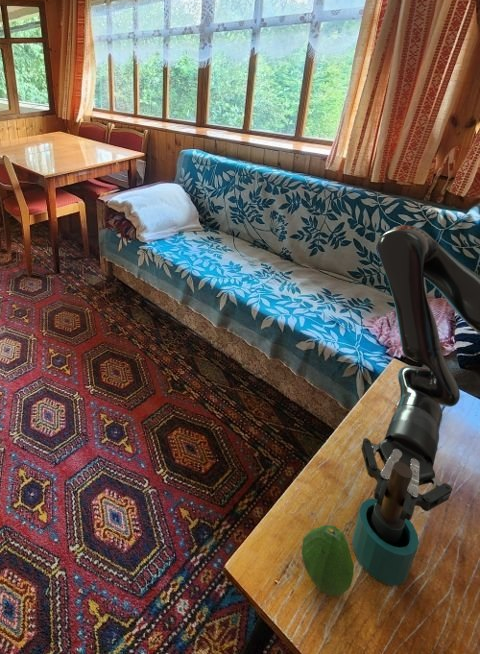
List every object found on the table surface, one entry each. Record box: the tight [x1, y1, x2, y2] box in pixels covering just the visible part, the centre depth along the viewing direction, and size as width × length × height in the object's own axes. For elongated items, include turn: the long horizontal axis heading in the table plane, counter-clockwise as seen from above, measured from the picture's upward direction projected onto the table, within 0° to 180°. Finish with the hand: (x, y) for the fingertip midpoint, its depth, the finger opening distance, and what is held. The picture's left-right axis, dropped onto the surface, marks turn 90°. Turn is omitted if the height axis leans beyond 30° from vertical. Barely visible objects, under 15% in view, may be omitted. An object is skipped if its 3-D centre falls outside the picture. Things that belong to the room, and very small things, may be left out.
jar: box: [352, 497, 420, 587], centre depth 67 cm, size 9×9×9 cm
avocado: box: [301, 524, 355, 597], centre depth 64 cm, size 8×8×12 cm
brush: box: [371, 462, 413, 544], centre depth 63 cm, size 4×4×16 cm
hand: (391, 508), depth 61 cm, fingers closed on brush, 2 cm apart
